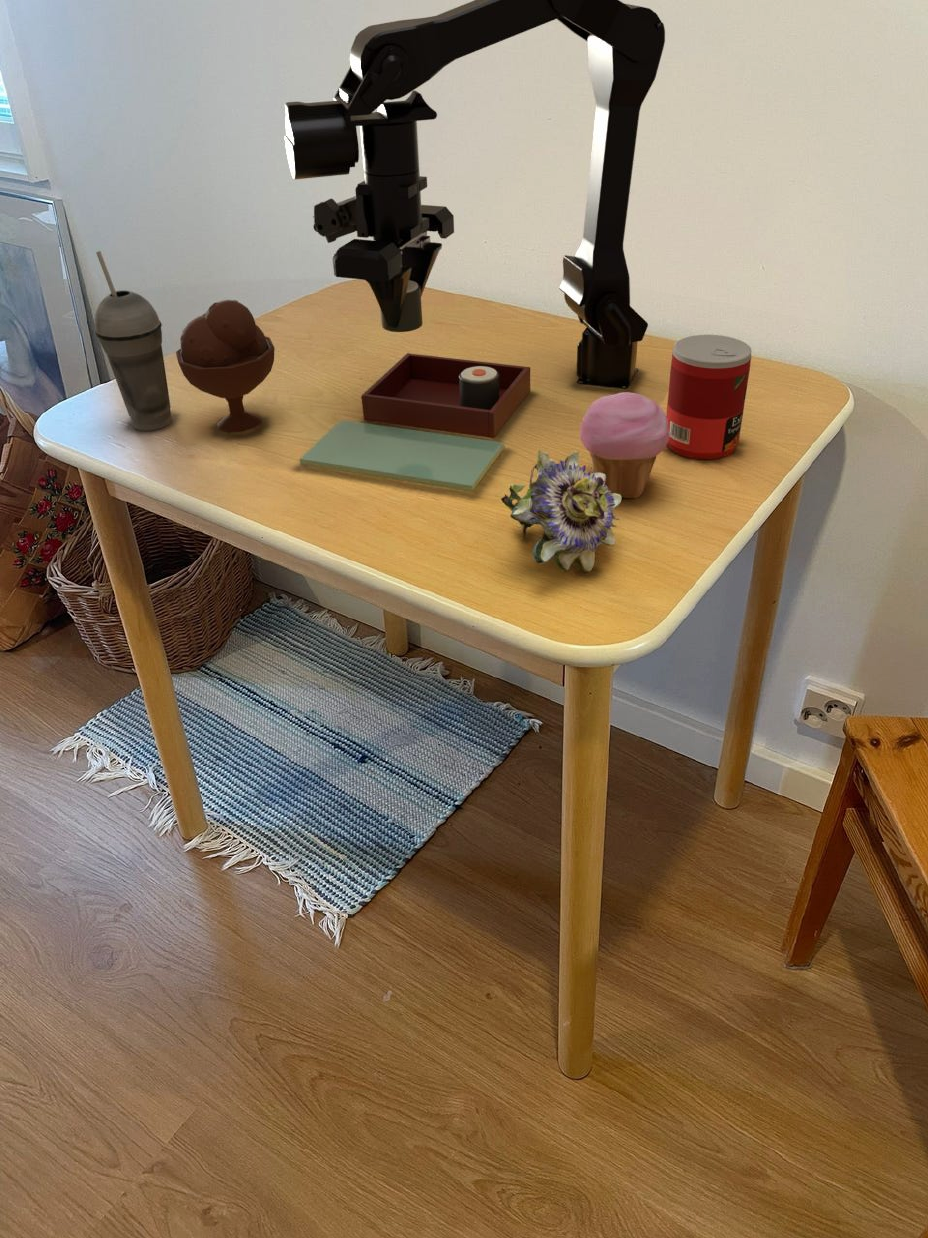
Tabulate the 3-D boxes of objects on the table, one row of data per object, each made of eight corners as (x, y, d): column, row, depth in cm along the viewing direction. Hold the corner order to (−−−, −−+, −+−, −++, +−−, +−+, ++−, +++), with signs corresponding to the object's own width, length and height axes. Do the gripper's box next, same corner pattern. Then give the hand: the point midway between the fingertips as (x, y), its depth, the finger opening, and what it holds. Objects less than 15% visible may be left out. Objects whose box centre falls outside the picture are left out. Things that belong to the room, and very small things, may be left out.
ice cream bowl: (276, 400, 119) (256, 278, 110) (293, 438, 110) (272, 309, 101) (190, 415, 116) (161, 291, 107) (199, 455, 108) (169, 324, 99)
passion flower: (582, 614, 90) (560, 570, 79) (491, 560, 95) (458, 510, 84) (648, 518, 92) (635, 461, 81) (555, 469, 96) (531, 408, 85)
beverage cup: (174, 435, 112) (132, 260, 100) (113, 436, 112) (64, 262, 100) (189, 408, 118) (151, 240, 106) (131, 410, 118) (86, 242, 106)
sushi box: (530, 394, 117) (530, 366, 115) (494, 442, 107) (493, 412, 105) (409, 380, 122) (407, 352, 120) (364, 424, 112) (361, 395, 110)
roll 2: (504, 403, 114) (504, 366, 111) (491, 419, 111) (491, 381, 108) (468, 398, 116) (467, 361, 113) (454, 414, 112) (453, 377, 109)
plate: (504, 452, 105) (504, 442, 105) (472, 496, 98) (472, 485, 97) (342, 429, 112) (341, 419, 111) (300, 468, 104) (299, 458, 104)
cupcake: (658, 514, 94) (667, 420, 88) (570, 505, 96) (574, 412, 90) (668, 471, 101) (677, 381, 95) (586, 464, 103) (590, 375, 97)
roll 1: (428, 320, 109) (426, 279, 106) (412, 334, 106) (409, 292, 103) (392, 315, 111) (389, 275, 108) (375, 329, 107) (371, 288, 105)
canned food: (738, 463, 102) (753, 363, 95) (662, 458, 103) (671, 360, 96) (737, 430, 107) (751, 335, 101) (664, 426, 109) (673, 332, 102)
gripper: (361, 147, 108) (373, 286, 117) (277, 186, 94) (298, 341, 104) (453, 152, 104) (458, 295, 114) (379, 193, 91) (391, 352, 100)
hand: (402, 319), depth 108 cm, fingers closed on roll 1, 4 cm apart
